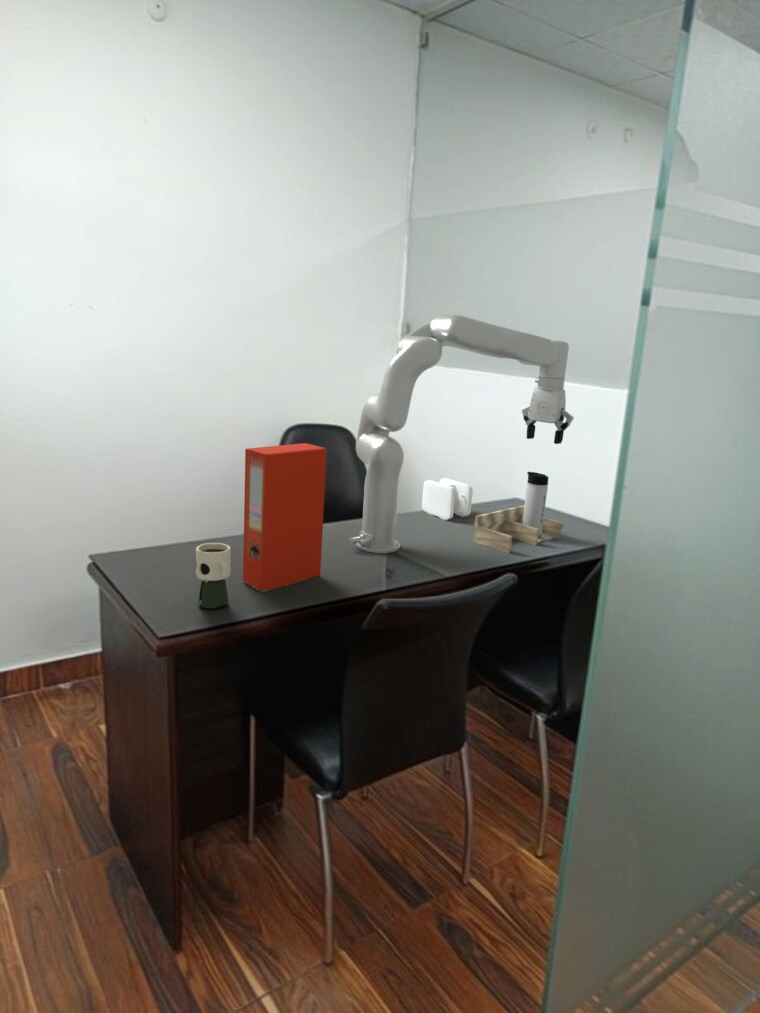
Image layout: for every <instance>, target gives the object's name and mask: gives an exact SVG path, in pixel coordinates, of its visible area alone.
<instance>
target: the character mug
mask: <svg viewBox="0 0 760 1013" xmlns="http://www.w3.org/2000/svg"><path fill="white" fill-rule="evenodd" d="M231 552H232V550H231V546H230V545H229V544H226V543H221V542H206V543H201V544H200V545H198V546H196V548H195V560H196V570H195V573H196V578H198V579H200V580H201V581H200V588H199V591H198V592H199V593H198V605H200V607H201V608H205V609H217V608H220V607H223V606H225V605H227V604H229V596H228V595H229V594H228V588H227V581H226V579H227V578H229V577H230V575H231V565H232V564H231V562H232V561H231V560H232V558H231V555H232V554H231ZM200 601H201V603H200Z"/></svg>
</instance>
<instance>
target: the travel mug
mask: <svg viewBox="0 0 760 1013" xmlns="http://www.w3.org/2000/svg"><path fill="white" fill-rule="evenodd" d="M548 486H549V476H547V475H546V474H543V473H539V472H536V471H535V472H534V471H527V483H526V490H525V497H524V498H525V499H524V504H523V505H524V513H523V522H522V524H524V525H527V526H531V527H534V528H537V529H539V533H538V537H541V535H542V527H543V519H544V517H545V511H546V502H547V497H548V496H547V494H548Z"/></svg>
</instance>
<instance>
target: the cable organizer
mask: <svg viewBox="0 0 760 1013" xmlns="http://www.w3.org/2000/svg"><path fill="white" fill-rule="evenodd" d="M422 490H423V491H422V499H421V500H422V502H421V508H422V510H423V511H424V512H425V513H426V514H427V515H431V516H435V517H438V518H439V519H440V520H442V521H443V520H444V521H448V520H450V519H452V518H453V517H454V514H455V515H456V516H457V517H458V516H459V517H460V516H461V517H460V518H465V517H467V516H469V515H471V512H472V503H473V502H472V501H473V487H472V486H471V485H470V484H469V483H465V482H461V481H458V480H455V479H451V478H447V477H444V478H441V479H439V482H438V481H436V480H432V479H427V480H425V481H424V482H423V487H422Z"/></svg>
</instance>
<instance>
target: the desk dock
mask: <svg viewBox="0 0 760 1013" xmlns="http://www.w3.org/2000/svg"><path fill="white" fill-rule="evenodd" d="M524 505H525V504H523V505H518V506H514V507H510V508H509V507H508V508H505V509H504V508H503V509H501V510H496V511H492V512H487V513H481V514H477V515H475V517H474V518H475V519H474V525H473V526H474V527H473V535H472V536H473V537H472V542H474V543H475V544H479V545H481V546H486V547H488V548H490V549H494V550H497V551H500V552H503V553H506V554H511V551H512V544H513V543H512V542H513V539H514V540H516V539H517V541H519V540H520V542H522V543H525V544H526V543H527V544H530V545H532V546H537V545H538V543H542V541H543V542H545V541H549V540H552V539H556V538H557V539H561V538H562V534H563V528H564V522H563V521H559V520H556V519H552V518H549V517H546V516H544V519H543V527H542V535H541V537H538V533H539V529H537V528H534V527H531V526H527V525H524V524H522V522H523V513H524Z"/></svg>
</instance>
